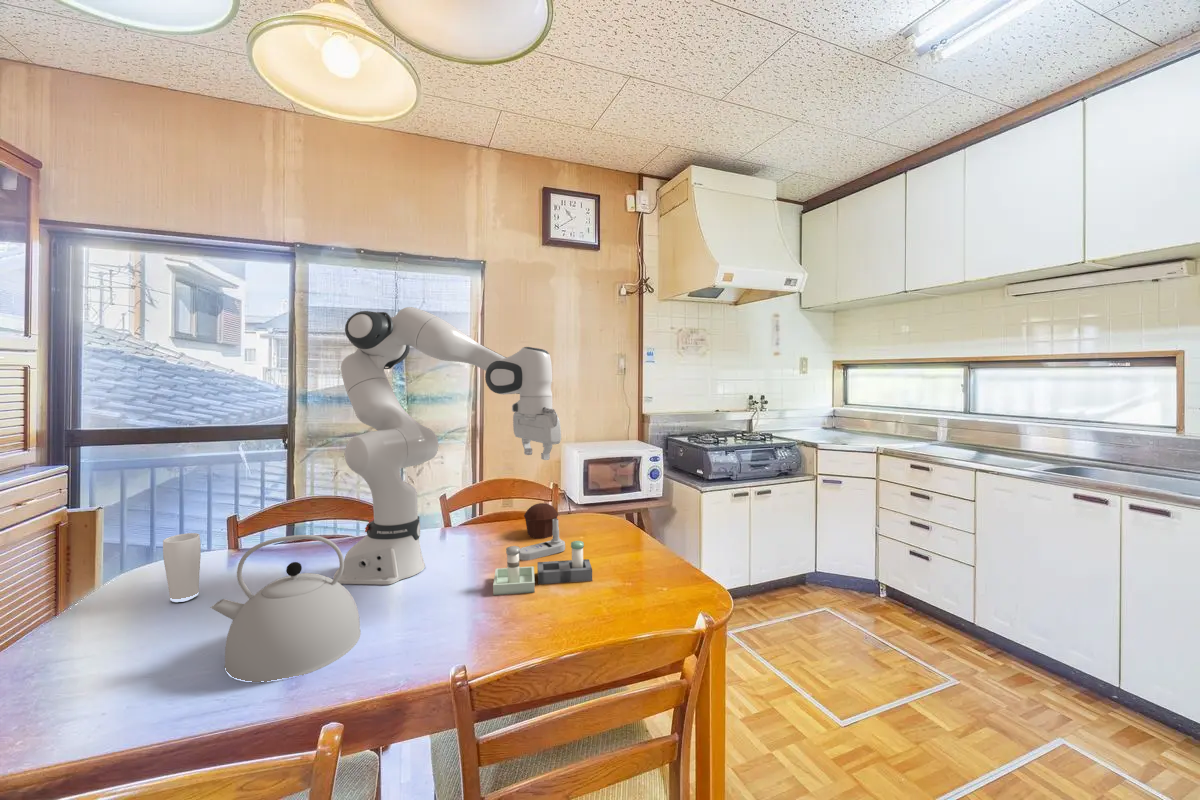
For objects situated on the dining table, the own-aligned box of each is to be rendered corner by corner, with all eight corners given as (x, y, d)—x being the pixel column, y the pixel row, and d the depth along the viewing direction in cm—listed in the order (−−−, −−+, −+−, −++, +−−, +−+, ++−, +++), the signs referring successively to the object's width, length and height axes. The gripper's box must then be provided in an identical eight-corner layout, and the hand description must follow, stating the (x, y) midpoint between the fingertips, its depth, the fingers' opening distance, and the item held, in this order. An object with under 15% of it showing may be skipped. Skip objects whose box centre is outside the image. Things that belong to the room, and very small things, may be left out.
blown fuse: (505, 585, 122) (504, 550, 122) (509, 579, 126) (508, 545, 125) (518, 586, 122) (517, 551, 121) (522, 580, 125) (521, 546, 124)
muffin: (542, 542, 154) (542, 511, 154) (516, 535, 160) (516, 506, 160) (565, 532, 164) (565, 503, 164) (540, 526, 170) (539, 498, 170)
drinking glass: (209, 595, 117) (206, 535, 116) (175, 608, 111) (171, 544, 110) (193, 590, 120) (190, 531, 119) (159, 602, 114) (156, 539, 113)
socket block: (538, 584, 124) (538, 572, 124) (537, 572, 131) (537, 562, 131) (592, 580, 126) (592, 569, 126) (588, 569, 133) (588, 559, 133)
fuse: (571, 579, 127) (571, 545, 127) (570, 573, 130) (570, 541, 130) (584, 578, 128) (584, 544, 127) (583, 572, 131) (582, 540, 130)
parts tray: (493, 595, 118) (493, 585, 118) (495, 577, 128) (495, 568, 128) (534, 592, 119) (534, 582, 119) (533, 575, 129) (533, 566, 129)
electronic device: (513, 525, 142) (559, 515, 150) (515, 557, 143) (560, 546, 151) (521, 530, 138) (567, 520, 146) (522, 563, 139) (568, 551, 147)
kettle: (186, 699, 80) (179, 567, 79) (234, 631, 102) (229, 526, 100) (353, 667, 89) (350, 547, 88) (365, 610, 111) (362, 513, 109)
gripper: (566, 408, 125) (567, 461, 126) (528, 404, 142) (528, 451, 142) (545, 409, 121) (546, 464, 122) (509, 405, 138) (509, 453, 139)
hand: (536, 457), depth 132 cm, fingers open, 8 cm apart
